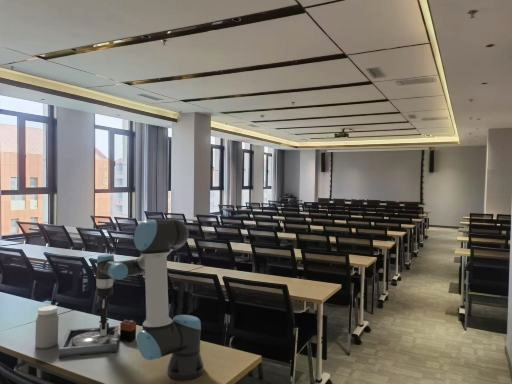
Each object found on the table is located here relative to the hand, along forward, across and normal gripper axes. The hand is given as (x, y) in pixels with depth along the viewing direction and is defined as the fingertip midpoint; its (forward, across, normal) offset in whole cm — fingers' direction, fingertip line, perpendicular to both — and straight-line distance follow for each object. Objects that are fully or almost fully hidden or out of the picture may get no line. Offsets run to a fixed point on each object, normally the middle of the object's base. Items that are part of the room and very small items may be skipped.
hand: (103, 335), depth 183 cm
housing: (+5, +3, +6) cm, 8 cm away
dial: (+4, +3, +6) cm, 7 cm away
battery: (+5, +5, -11) cm, 13 cm away
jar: (+5, +6, +26) cm, 27 cm away
